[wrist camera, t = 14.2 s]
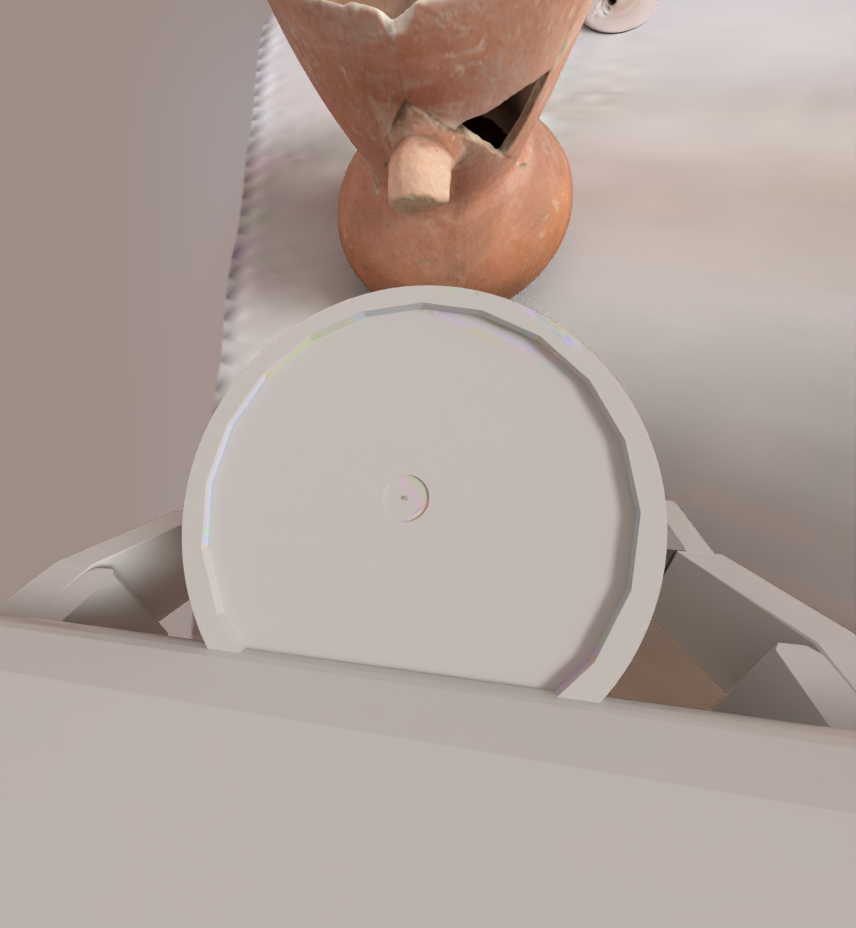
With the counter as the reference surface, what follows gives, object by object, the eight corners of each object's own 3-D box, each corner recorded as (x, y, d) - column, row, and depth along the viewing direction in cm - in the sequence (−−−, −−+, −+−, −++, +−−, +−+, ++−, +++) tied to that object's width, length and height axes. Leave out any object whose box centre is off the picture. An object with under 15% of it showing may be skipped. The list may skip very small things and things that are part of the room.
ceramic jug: (552, 361, 21) (709, 37, 7) (338, 351, 23) (143, 85, 9) (563, 138, 24) (686, -374, 11) (375, 147, 26) (273, -271, 13)
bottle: (533, 572, 18) (842, 765, 3) (408, 602, 18) (162, 890, 4) (497, 451, 19) (588, 196, 5) (382, 480, 20) (139, 334, 5)
